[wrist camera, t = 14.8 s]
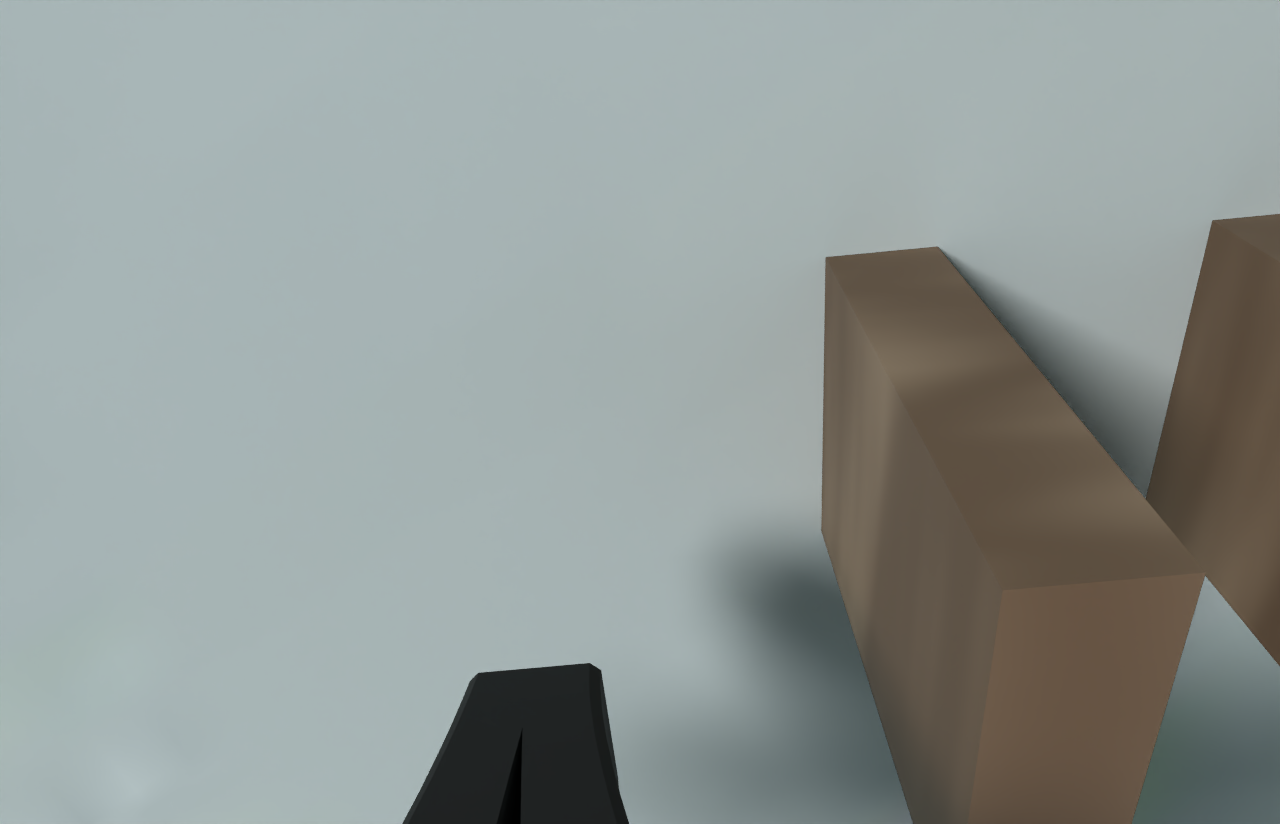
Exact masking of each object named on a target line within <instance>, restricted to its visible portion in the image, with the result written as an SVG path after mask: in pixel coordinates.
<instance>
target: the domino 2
mask: <svg viewBox="0 0 1280 824" xmlns="http://www.w3.org/2000/svg"><path fill="white" fill-rule="evenodd" d="M1146 500H1147V502H1148V503H1149V504H1150V505H1151V506H1152V508H1153V509H1154V510H1155V511H1156V513H1157V514H1158V515H1159V516H1160V517H1161V519H1162V520H1163V521H1164V522H1165V523H1166V525H1167V526H1168V527H1169V528H1170V530H1171V531H1172V532H1173V533H1174V534H1175V536H1176V537H1177V538H1178V539H1179V540H1180V542H1181V543H1182V544H1183V545H1184V547H1185V548H1186V549H1187V550H1188V551H1189V553H1190V554H1191V555H1192V556H1193V557H1194V559H1195V560H1196V561H1197V562H1198V564H1199V565H1200V566H1201V567H1202V568H1203V570H1204V571H1205V572H1206V574H1205V576H1206V577H1207V578H1208V579H1209V581H1210V582H1211V583H1212V584H1213V585H1214V587H1215V588H1216V589H1217V590H1218V591H1219V593H1220V594H1221V595H1222V596H1223V598H1224V599H1225V600H1226V601H1227V602H1228V604H1229V605H1230V606H1231V607H1232V609H1233V610H1234V611H1235V612H1236V613H1237V615H1238V616H1239V617H1240V618H1241V620H1242V621H1243V622H1244V623H1245V624H1246V626H1247V627H1248V628H1249V629H1250V631H1251V632H1252V633H1253V634H1254V635H1255V637H1256V638H1257V639H1258V640H1259V641H1260V643H1261V644H1262V645H1263V646H1264V648H1265V649H1266V650H1267V651H1268V652H1269V654H1270V655H1271V656H1272V657H1273V659H1274V660H1275V661H1276V662H1277V663H1278V665H1279V666H1280V214H1275V215H1265V216H1254V217H1244V218H1233V219H1223V220H1213V221H1212V225H1211V229H1210V233H1209V237H1208V242H1207V246H1206V250H1205V254H1204V258H1203V262H1202V267H1201V271H1200V275H1199V279H1198V283H1197V287H1196V292H1195V296H1194V300H1193V304H1192V308H1191V313H1190V317H1189V321H1188V325H1187V329H1186V333H1185V338H1184V342H1183V346H1182V350H1181V354H1180V359H1179V363H1178V367H1177V371H1176V375H1175V379H1174V384H1173V388H1172V392H1171V396H1170V400H1169V405H1168V409H1167V413H1166V417H1165V421H1164V425H1163V430H1162V434H1161V438H1160V442H1159V446H1158V450H1157V455H1156V459H1155V463H1154V467H1153V471H1152V476H1151V480H1150V484H1149V488H1148V492H1147V496H1146Z"/></svg>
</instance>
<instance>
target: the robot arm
mask: <svg viewBox="0 0 1280 824" xmlns="http://www.w3.org/2000/svg"><path fill="white" fill-rule="evenodd" d="M403 824H629V822H628V819H627V815H626V812H625V809H624V806H623V803H622V799H621V796H620V792H619V786H618V775H617V769H616V763H615V756H614V750H613V743H612V737H611V731H610V724H609V718H608V712H607V705H606V699H605V693H604V686H603V680H602V674H601V670H600V669H598V668H597V667H595V666H593V665H592V664H590V663H586V664H575V665H564V666H552V667H541V668H529V669H518V670H506V671H495V672H484V673H478V674H477V675H476V676H475V677H474V678H473V679H472V680H471V681H470V683H469V685H468V687H467V690H466V692H465V695H464V697H463V700H462V702H461V704H460V707H459V709H458V711H457V714H456V716H455V718H454V720H453V723H452V725H451V727H450V729H449V732H448V734H447V736H446V738H445V740H444V742H443V744H442V747H441V749H440V751H439V753H438V755H437V757H436V759H435V761H434V763H433V765H432V767H431V769H430V771H429V773H428V775H427V777H426V779H425V782H424V784H423V786H422V788H421V790H420V792H419V793H418V795H417V797H416V799H415V801H414V803H413V805H412V807H411V808H410V810H409V812H408V814H407V816H406V818H405V820H404V822H403Z"/></svg>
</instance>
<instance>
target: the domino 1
mask: <svg viewBox="0 0 1280 824" xmlns="http://www.w3.org/2000/svg"><path fill="white" fill-rule="evenodd" d="M821 531H822V534H823V538H824V541H825V544H826V547H827V550H828V554H829V557H830V560H831V563H832V566H833V569H834V573H835V576H836V579H837V582H838V585H839V589H840V592H841V595H842V598H843V601H844V605H845V608H846V611H847V614H848V617H849V620H850V624H851V627H852V630H853V633H854V636H855V640H856V643H857V646H858V649H859V652H860V656H861V659H862V662H863V665H864V668H865V672H866V675H867V678H868V681H869V684H870V687H871V691H872V694H873V697H874V700H875V703H876V707H877V710H878V713H879V716H880V719H881V723H882V726H883V729H884V732H885V735H886V739H887V742H888V745H889V748H890V751H891V754H892V758H893V761H894V764H895V767H896V770H897V774H898V777H899V780H900V783H901V786H902V790H903V793H904V796H905V799H906V802H907V806H908V809H909V812H910V815H911V818H912V821H913V824H1132V820H1133V817H1134V814H1135V810H1136V807H1137V804H1138V800H1139V797H1140V793H1141V790H1142V787H1143V783H1144V780H1145V777H1146V773H1147V770H1148V766H1149V763H1150V760H1151V756H1152V753H1153V749H1154V746H1155V743H1156V739H1157V736H1158V733H1159V729H1160V726H1161V722H1162V719H1163V716H1164V712H1165V709H1166V706H1167V702H1168V699H1169V695H1170V692H1171V689H1172V685H1173V682H1174V679H1175V675H1176V672H1177V668H1178V665H1179V662H1180V658H1181V655H1182V651H1183V648H1184V645H1185V641H1186V638H1187V635H1188V631H1189V628H1190V624H1191V621H1192V618H1193V614H1194V611H1195V608H1196V604H1197V601H1198V597H1199V594H1200V591H1201V587H1202V584H1203V581H1204V577H1205V574H1206V572H1205V571H1204V570H1203V568H1202V567H1201V566H1200V565H1199V564H1198V562H1197V561H1196V560H1195V559H1194V557H1193V556H1192V555H1191V554H1190V553H1189V551H1188V550H1187V549H1186V548H1185V547H1184V545H1183V544H1182V543H1181V542H1180V540H1179V539H1178V538H1177V537H1176V536H1175V534H1174V533H1173V532H1172V531H1171V530H1170V528H1169V527H1168V526H1167V525H1166V523H1165V522H1164V521H1163V520H1162V519H1161V517H1160V516H1159V515H1158V514H1157V513H1156V511H1155V510H1154V509H1153V508H1152V506H1151V505H1150V504H1149V503H1148V502H1147V500H1146V499H1145V498H1144V497H1143V496H1142V494H1141V493H1140V492H1139V491H1138V489H1137V488H1136V487H1135V486H1134V485H1133V483H1132V482H1131V481H1130V480H1129V479H1128V477H1127V476H1126V475H1125V474H1124V472H1123V471H1122V470H1121V469H1120V468H1119V466H1118V465H1117V464H1116V463H1115V462H1114V460H1113V459H1112V458H1111V457H1110V455H1109V454H1108V453H1107V452H1106V451H1105V449H1104V448H1103V447H1102V446H1101V445H1100V443H1099V442H1098V441H1097V440H1096V438H1095V437H1094V436H1093V435H1092V434H1091V432H1090V431H1089V430H1088V429H1087V428H1086V426H1085V425H1084V424H1083V423H1082V421H1081V420H1080V419H1079V418H1078V417H1077V415H1076V414H1075V413H1074V412H1073V411H1072V409H1071V408H1070V407H1069V406H1068V404H1067V403H1066V402H1065V401H1064V400H1063V398H1062V397H1061V396H1060V395H1059V394H1058V392H1057V391H1056V390H1055V389H1054V387H1053V386H1052V385H1051V384H1050V383H1049V381H1048V380H1047V379H1046V378H1045V377H1044V375H1043V374H1042V373H1041V372H1040V370H1039V369H1038V368H1037V367H1036V366H1035V364H1034V363H1033V362H1032V361H1031V360H1030V358H1029V357H1028V356H1027V355H1026V353H1025V352H1024V351H1023V350H1022V349H1021V347H1020V346H1019V345H1018V344H1017V343H1016V341H1015V340H1014V339H1013V338H1012V336H1011V335H1010V334H1009V333H1008V332H1007V330H1006V329H1005V328H1004V327H1003V326H1002V324H1001V323H1000V322H999V321H998V319H997V318H996V317H995V316H994V315H993V313H992V312H991V311H990V310H989V309H988V307H987V306H986V305H985V304H984V302H983V301H982V300H981V299H980V298H979V296H978V295H977V294H976V293H975V292H974V290H973V289H972V288H971V287H970V285H969V284H968V283H967V282H966V281H965V279H964V278H963V277H962V276H961V275H960V273H959V272H958V271H957V270H956V268H955V267H954V266H953V265H952V264H951V262H950V261H949V260H948V259H947V257H946V256H945V255H944V254H943V253H942V251H941V250H940V249H939V248H938V247H929V248H918V249H908V250H897V251H887V252H876V253H866V254H855V255H845V256H834V257H826V269H825V334H824V399H823V464H822V529H821Z"/></svg>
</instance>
